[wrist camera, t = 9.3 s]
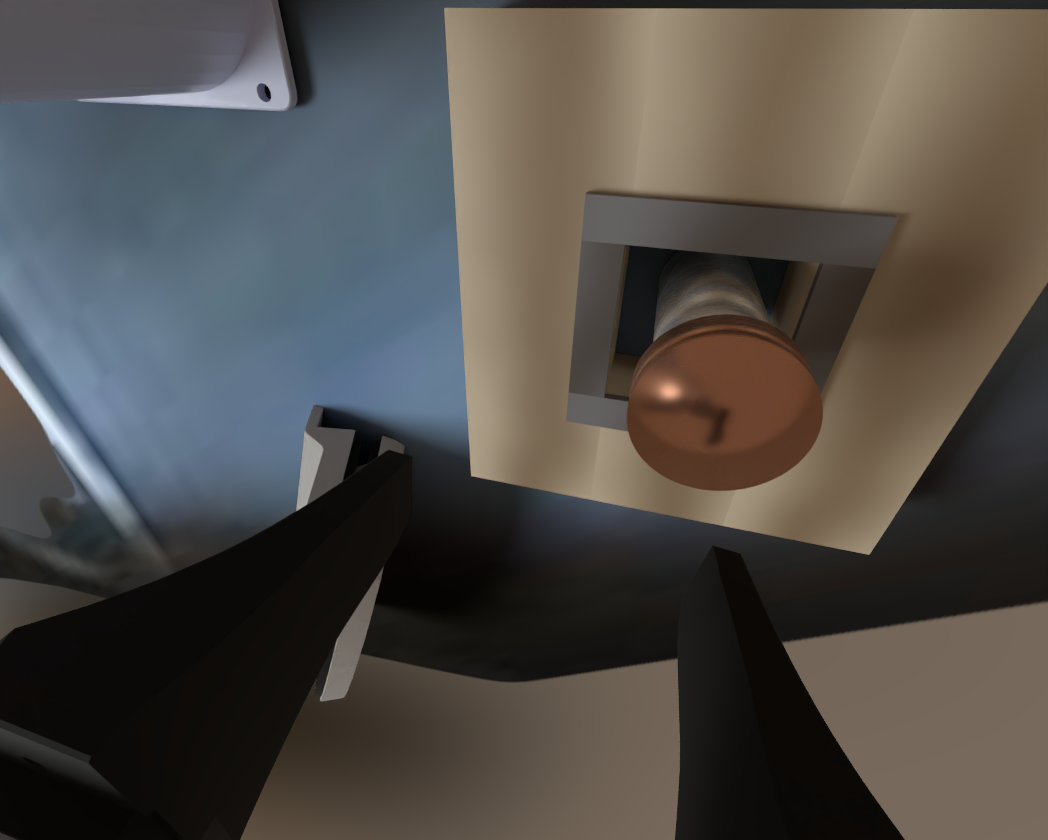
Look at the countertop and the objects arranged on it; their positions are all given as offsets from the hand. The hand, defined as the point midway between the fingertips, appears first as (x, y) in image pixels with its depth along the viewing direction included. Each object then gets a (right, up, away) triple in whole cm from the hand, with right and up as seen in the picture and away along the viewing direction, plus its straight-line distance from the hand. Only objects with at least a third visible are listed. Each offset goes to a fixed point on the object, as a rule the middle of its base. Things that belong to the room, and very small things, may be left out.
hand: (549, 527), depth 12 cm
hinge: (-10, -4, +18) cm, 22 cm away
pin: (+5, +7, +5) cm, 10 cm away
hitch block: (+5, +7, +5) cm, 10 cm away
